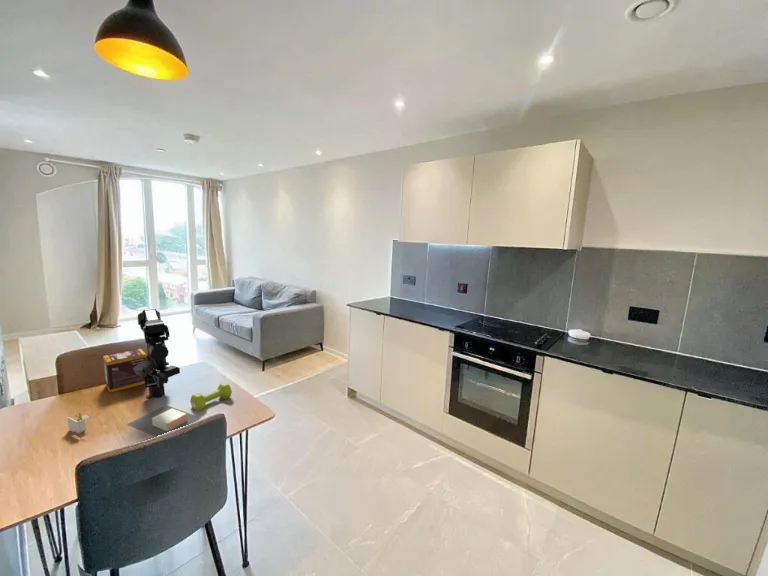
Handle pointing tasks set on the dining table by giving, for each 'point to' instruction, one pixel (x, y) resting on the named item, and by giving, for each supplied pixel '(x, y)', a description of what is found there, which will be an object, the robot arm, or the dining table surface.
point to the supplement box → (123, 369)
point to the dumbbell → (210, 396)
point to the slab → (169, 419)
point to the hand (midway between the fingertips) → (160, 387)
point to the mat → (147, 427)
